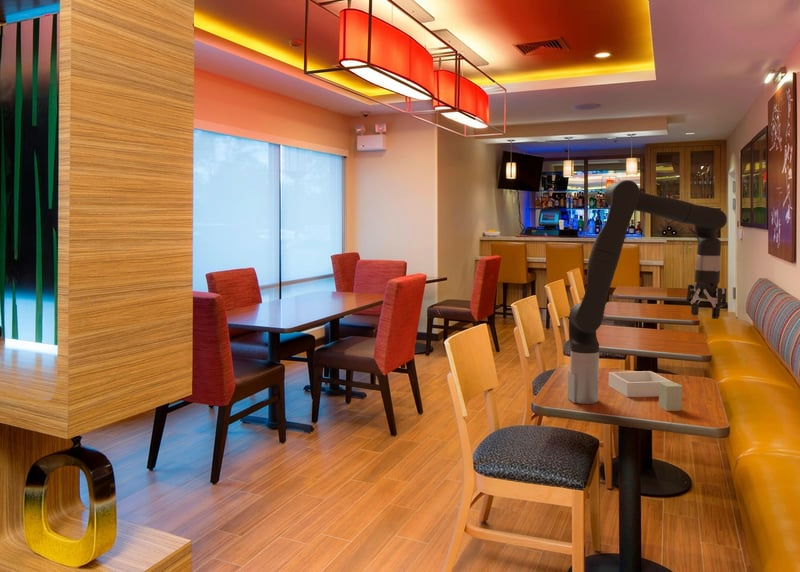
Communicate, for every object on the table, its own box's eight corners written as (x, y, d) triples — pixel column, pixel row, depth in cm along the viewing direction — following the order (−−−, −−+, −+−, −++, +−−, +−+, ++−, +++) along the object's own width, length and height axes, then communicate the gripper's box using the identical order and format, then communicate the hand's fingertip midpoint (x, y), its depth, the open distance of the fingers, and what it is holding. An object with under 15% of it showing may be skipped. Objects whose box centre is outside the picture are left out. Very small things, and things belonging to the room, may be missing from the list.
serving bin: (627, 397, 212) (627, 382, 211) (608, 385, 228) (608, 372, 227) (672, 395, 213) (672, 381, 212) (650, 384, 229) (650, 371, 228)
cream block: (666, 411, 196) (667, 386, 195) (658, 406, 201) (659, 382, 200) (681, 410, 196) (682, 386, 195) (673, 406, 201) (674, 382, 200)
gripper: (682, 267, 211) (680, 314, 213) (716, 270, 198) (713, 320, 199) (699, 267, 213) (696, 313, 215) (734, 270, 200) (731, 319, 202)
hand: (704, 316), depth 207 cm, fingers open, 8 cm apart
